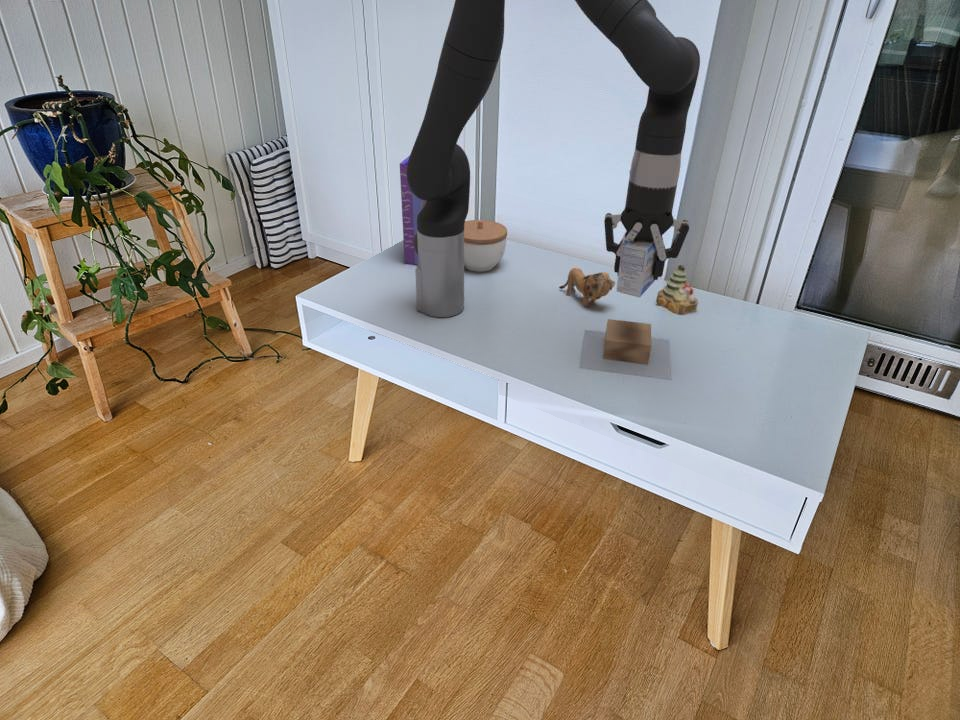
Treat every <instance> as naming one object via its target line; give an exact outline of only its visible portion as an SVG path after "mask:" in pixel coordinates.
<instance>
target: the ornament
mask: <svg viewBox="0 0 960 720" xmlns="http://www.w3.org/2000/svg"><path fill="white" fill-rule="evenodd" d="M685 269H686V267H685V266H684V265H683V264H680V265H678V266H677V269H675V270H673V272H672V273H671V274H670V275H669V279H667V280H666V285H665V286H663V288H662V289H660V290H658V292H657V296H656V300H655V303H656V305H657V306H658V307H662V308H666V309H667V310H668V311H669V312H671V313H672V314H676V315H681V316H682V315H686V314H689V313H694V312H696V311H697V309H698V305H699V301H698V298H697V296H696V295H695V293H694V288H693V287H692V286H691V285H689V284H688V282H687V281H688V278H687V273H686V271H685Z"/></svg>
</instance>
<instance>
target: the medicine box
mask: <svg viewBox="0 0 960 720" xmlns="http://www.w3.org/2000/svg"><path fill="white" fill-rule="evenodd" d="M656 256H658V252H657V249H656V246H655V242H654V241H653V242H648V241H645V240H641V241H636V240H633V241H632V243H626V244H625V245H623V246H622V252H621V259H620V267H619V274H618V273H617V274H618V276H617V283H616V290H615V291H616V293H620V294H624V295H628V296H633V297H635V298H641V297H642V296H643V294H645V293H646V291H647V290H648V289H649V288H650V287H651V286H652V285H653V284H654V282H655V281H656V280H653V273H654V268H655V262H656Z"/></svg>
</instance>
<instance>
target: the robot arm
mask: <svg viewBox="0 0 960 720" xmlns="http://www.w3.org/2000/svg"><path fill="white" fill-rule="evenodd" d="M574 1H575V3H576V4H577V6H578V7H579V9H580V10H581V11H582V12H583V14H584V15H585V17H586V18H587V19H588V20H589V21H590V22H591V23H592V24H593V25H594V26H595V28H597V29H598V30H599V31H600V32H601V34H602V35H603V36H605V38H606V39H607V40H608V41H609V42H610V43H612V45H614V46H615V47H616V48H617V49H618V50H619V51H620V53H621V54H622V56H623V58H624V59H625V60H626V62H627V63H628V64H629V65H630V67H631V68H632V70H633V71H634V73H635V74H636V75H637V76H638V77H639V79H640V81H642V82H643V83H644V84H645V85H646V86H647V87H648V92H647V98H646V100H647V101H646V105H645V108H644V110H643V112H642V113H641V116H640V119H639V123H638V127H637V134H636V140H635V147H634V151H633V152H634V153H633V156H632V159H631V165H630V170H629V179H628V184H627V192H626V198H625V206H624V209H623V211H622V212H621V213H619V214H612V213H610V212H607V213H606V214H604V215H605V216H604V221H603V223H604V234H605V235H604V237H605V249H606V251H607V252H608V253H610V252H611V253H613V254H615V261H614V267H613V270H614V271H613V272H614V273H617V276H616V277H618V274H619V267H620V259H621V252H622V246H623V245H625V244H626V243H632V241H633V240H636V241H641V240H645V241H648V242H653V241H654V242H655V246H656V249H657V252H658V256H656V262H655V268H654V273H653V280H655V281H658V279H659V278H662V276H663V275H664V274H663V273H664V269H665V263H666V262H667V261H666V260H668V259H671V258H672V259H676V258H678V256H679V254H680V251H682V250H681V249H682V247H683V245H684V242H685V240H686V238H687V235H688V233H689V230H690V224H689V221H688V220H687V219H683V220H679V219H676V218H674V215H673V209H674V205H675V199H676V198H675V197H676V193H677V187H678V181H679V177H680V172H681V167H682V166H681V163H682V162H681V161H682V150H683V145H684V140H685V134H686V130H687V129H686V128H687V120H688V114H689V110H690V107H691V104H692V100H693V97H694V93H695V90H696V85H697V80H698V77H699V73H700V66H701V56H700V51H699V49H698V47H697V45H696V44H695V43H694V42H693V41H692V40H690V39H689V38H687V37H684V36H683V37H682V36H675V34H673V33H672V32H671V31H670V29H669V28H667V26H665V24H664V23H662V21H661V20H660V19H659V18H658V17H657V12H656V10H655V9H654V6H653V5H652V4H651V3H650V2H649V1H648V0H574ZM505 5H506V0H454V4H453V9H452V11H451V16H450V19H449V23H448V26H447V30H446V33H445V37H444V40H443V43H442V47H441V52H440V55H439V60H438V64H437V69H436V74H435V77H434V80H433V85H432V87H431V92H430V95H429V99H428V101H427V102H428V103H427V106H426V110H425V114H424V116H423V120H422V123H421V126H420V128H419V131H418V133H417V136H416V138H415V141H414V143H413V147H412V149H411V152H410V154H409V156H410V157H409V160H408V164H407V181H408V184H409V187H410V189H411V191H412V192H413V194H414V195H415V196H416V197H418V198H419V199H421V200H426V204H425V205H424V207H423V208H422V210H421V211H420V212H419V214H418V216H417V239H418V264H419V265H418V266H417V265H416V268H415V291H416V292H415V294H416V312H420V313H421V312H422V313H423V314H425V315H426V316H430V317H435V318H448V317H449V318H450V317H454V316H456V315H458V314H461V313H462V312H463V311H464V309H465V266H464V223H465V221H466V219H467V216H468V214H469V208H470V207H469V206H470V191H471V189H470V188H471V169H470V168H471V167H470V161H469V158H468V155H467V154H466V152H465V151H464V149H463V148H462V147H461V145H459V144H458V140H459V138H460V136H461V133H462V131H463V129H464V128H465V126H466V125H467V123H468V122H469V120H470V119H471V118H472V116H473V115H474V113H475V112H476V110H477V109H478V106H479V105H480V104H481V102H482V101H483V99H484V97H485V96H486V94H487V92H488V91H489V88H490V86H491V84H492V81H493V80H494V79H493V78H494V75H495V72H496V69H497V66H498V63H499V60H500V57H501V53H502V49H503V46H504V45H503V44H504V39H505V38H504V37H505V36H504V35H505V7H506V6H505ZM620 222H621V225H623V227H624V229H625V230H626V231H625V233H624V234H623V236H622V238H621V240H620V241H619V243H617V242H615V238H614V237H615V235H614V229H616V228H618V224H619V223H620ZM671 227H673V233H674V234H675V236H674V239H673V240H672V243H671V246H670V247H669V248H666V246H665V243H664V242H665V241H664V238H663V235H664V234H665V233H667V232H668V231H669V230H670V229H671Z"/></svg>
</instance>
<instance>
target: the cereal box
mask: <svg viewBox="0 0 960 720" xmlns="http://www.w3.org/2000/svg"><path fill="white" fill-rule="evenodd" d="M409 157H410V155H408V156H407V157H406V158H405V159H403V160H402V161H401V162H400V163H399V177H400V180H399V181H400V196H401V197H400V198H401V199H400V200H401V217H402V219H401V220H402V237H403V239H402V240H403V255H404V259H403V260H404V265H408V266H409V265H410V266H416V267H417V266H418V265H419V264H418V239H417V216H418V214H419V212H420V211H421V210H422V208H423V207H424V205H425V204H426V200H421V199H419V198H418V197H416V196H415V195H414V194H413V192H412V191H411V189H410V187H409V184H408V181H407V164H408V160H409Z"/></svg>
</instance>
